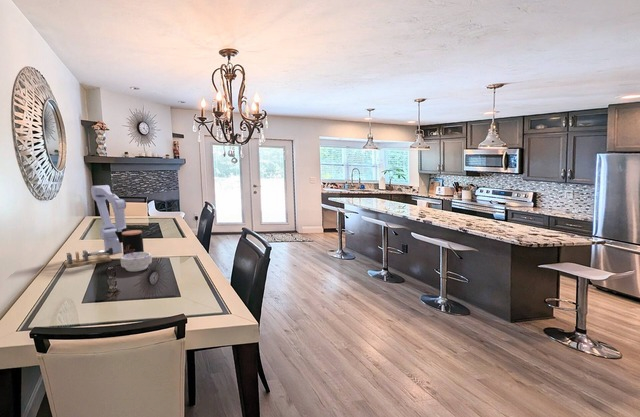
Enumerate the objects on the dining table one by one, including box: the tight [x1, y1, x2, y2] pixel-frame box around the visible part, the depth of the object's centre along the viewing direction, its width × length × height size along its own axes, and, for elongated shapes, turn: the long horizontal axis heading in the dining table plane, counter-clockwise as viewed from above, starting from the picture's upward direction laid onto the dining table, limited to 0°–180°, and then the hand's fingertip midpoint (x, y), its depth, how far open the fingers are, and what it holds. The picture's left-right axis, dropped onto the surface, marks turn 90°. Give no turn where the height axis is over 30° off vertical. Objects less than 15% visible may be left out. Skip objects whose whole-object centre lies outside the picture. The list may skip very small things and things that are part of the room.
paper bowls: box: [119, 251, 153, 273], centre depth 214 cm, size 15×15×8 cm
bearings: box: [66, 250, 89, 264], centre depth 227 cm, size 10×6×5 cm, turn 130°
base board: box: [63, 254, 112, 269], centre depth 230 cm, size 22×12×2 cm, turn 130°
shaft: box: [81, 248, 113, 258], centre depth 233 cm, size 16×4×4 cm, turn 130°
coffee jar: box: [121, 229, 145, 256], centre depth 227 cm, size 11×11×18 cm
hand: (122, 241), depth 241 cm, fingers open, 5 cm apart
